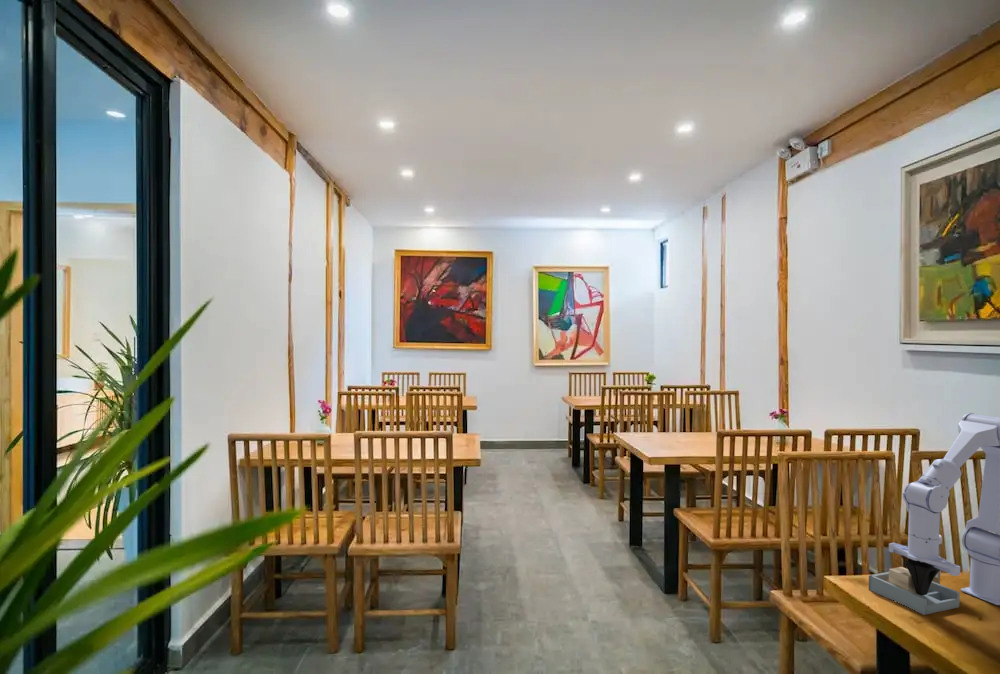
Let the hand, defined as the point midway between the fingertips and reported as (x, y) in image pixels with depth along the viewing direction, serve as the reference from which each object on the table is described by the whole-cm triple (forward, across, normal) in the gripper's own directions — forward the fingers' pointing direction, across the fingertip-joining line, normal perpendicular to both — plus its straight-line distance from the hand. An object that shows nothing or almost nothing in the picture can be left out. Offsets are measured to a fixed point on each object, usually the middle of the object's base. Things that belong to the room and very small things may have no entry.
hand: (921, 593), depth 130 cm
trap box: (+3, -4, +2) cm, 5 cm away
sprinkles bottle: (+3, -6, +13) cm, 15 cm away
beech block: (+1, -4, 0) cm, 4 cm away
